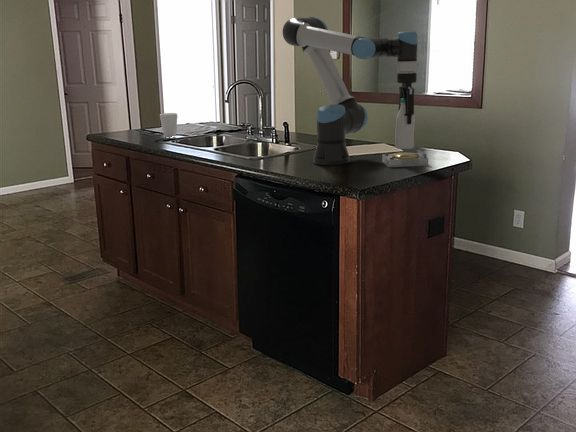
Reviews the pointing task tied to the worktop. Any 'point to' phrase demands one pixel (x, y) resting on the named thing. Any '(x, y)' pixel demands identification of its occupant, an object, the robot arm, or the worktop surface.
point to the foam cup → (169, 124)
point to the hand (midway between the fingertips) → (405, 130)
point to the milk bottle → (401, 137)
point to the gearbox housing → (405, 159)
